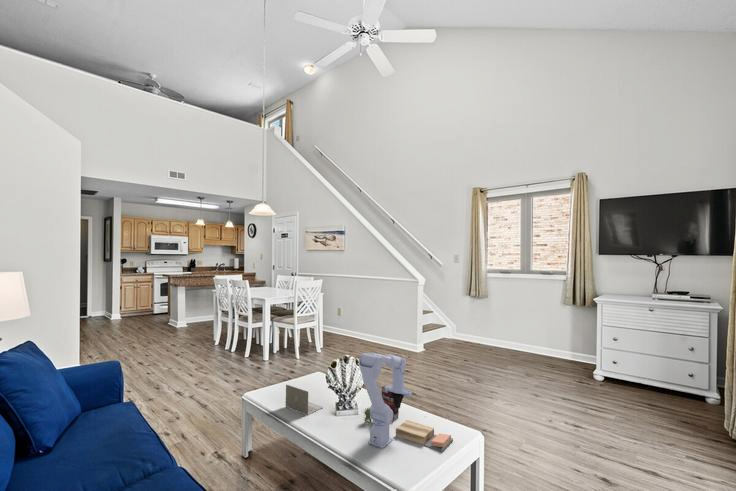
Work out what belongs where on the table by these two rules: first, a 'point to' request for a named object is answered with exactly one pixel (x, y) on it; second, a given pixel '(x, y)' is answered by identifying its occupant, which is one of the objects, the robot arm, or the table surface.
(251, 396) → the table surface
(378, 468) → the table surface
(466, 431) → the table surface
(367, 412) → the green toy figurine
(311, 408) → the laptop
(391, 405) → the supplement box
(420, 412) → the table surface
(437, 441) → the block
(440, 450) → the mat
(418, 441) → the deck
